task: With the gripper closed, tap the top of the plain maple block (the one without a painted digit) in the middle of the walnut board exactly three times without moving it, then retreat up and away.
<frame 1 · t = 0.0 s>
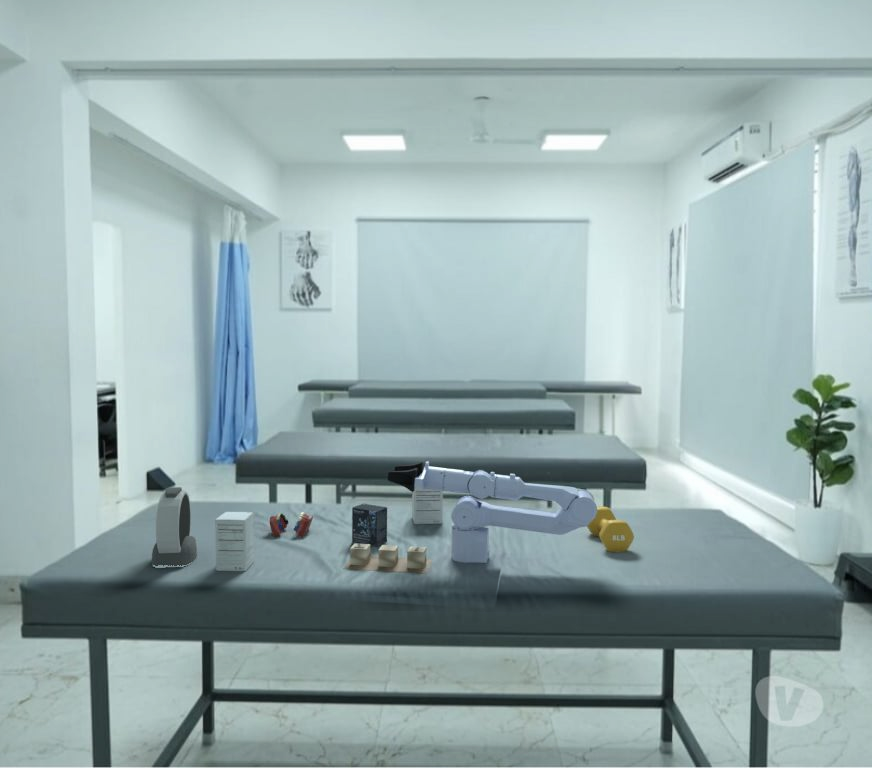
hand: (391, 473, 171), 22 cm above the table, tool horizontal, fingers open, 7 cm apart
walnut board: (388, 568, 164), on the table
teeth model: (291, 534, 194), on the table
dumbbell: (608, 543, 186), on the table
supplement box 2: (426, 521, 208), on the table
supplement box: (235, 567, 165), on the table
alarm clock: (174, 560, 169), on the table
plain block: (388, 563, 164), point 1 cm above the table, touching walnut board
block seven: (360, 562, 165), point 1 cm above the table, touching walnut board
block one: (416, 565, 163), point 1 cm above the table, touching walnut board
box: (369, 546, 182), on the table
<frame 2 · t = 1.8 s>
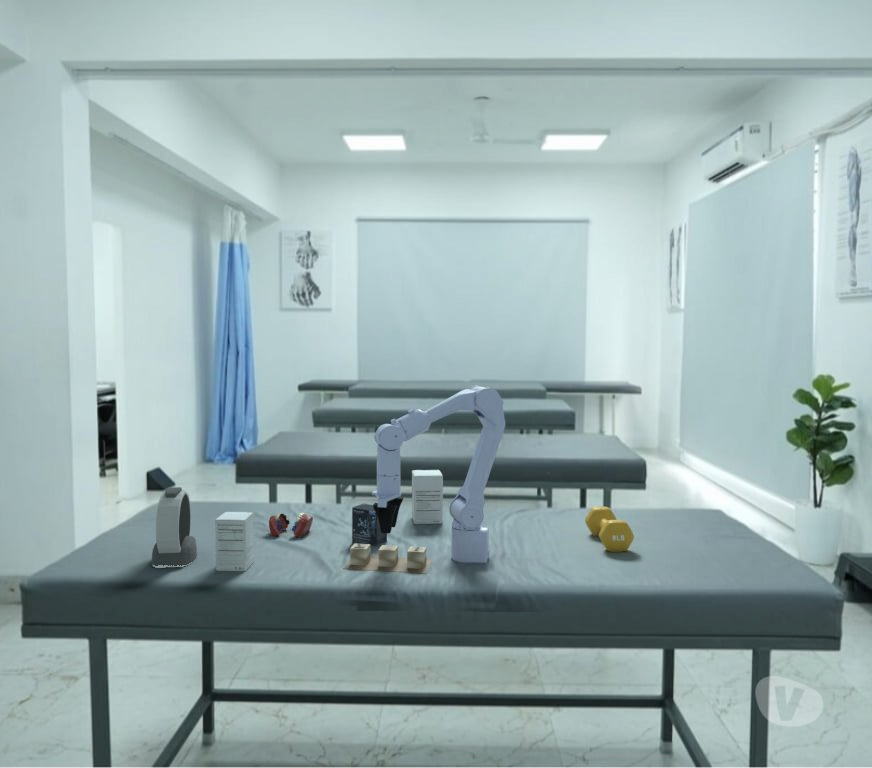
hand: (388, 529, 163), 9 cm above the table, tool pointing down, fingers open, 5 cm apart
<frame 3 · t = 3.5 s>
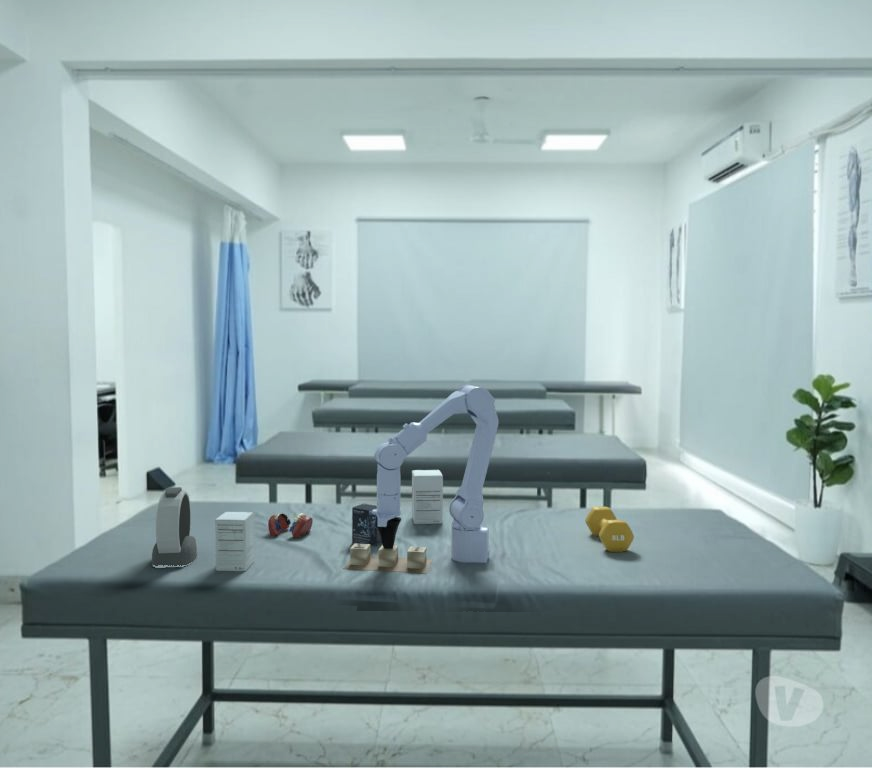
hand: (388, 548, 164), 5 cm above the table, tool pointing down, fingers closed, pressing on plain block
plain block: (388, 563, 164), point 1 cm above the table, touching gripper, walnut board
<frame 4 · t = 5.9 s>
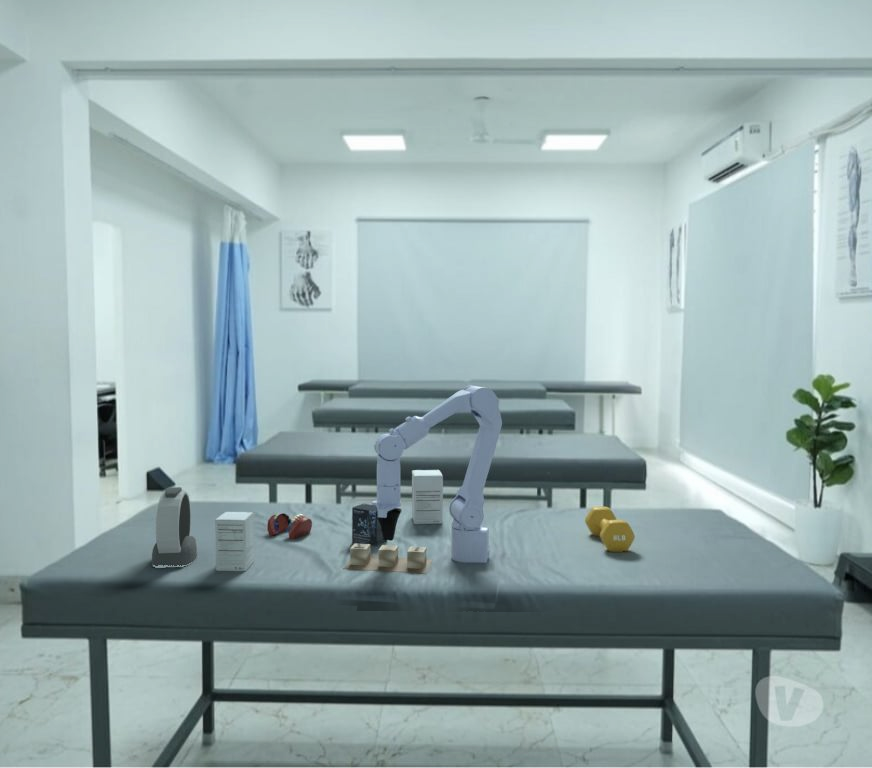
hand: (388, 539, 164), 7 cm above the table, tool pointing down, fingers closed
plain block: (388, 563, 164), point 1 cm above the table, touching walnut board
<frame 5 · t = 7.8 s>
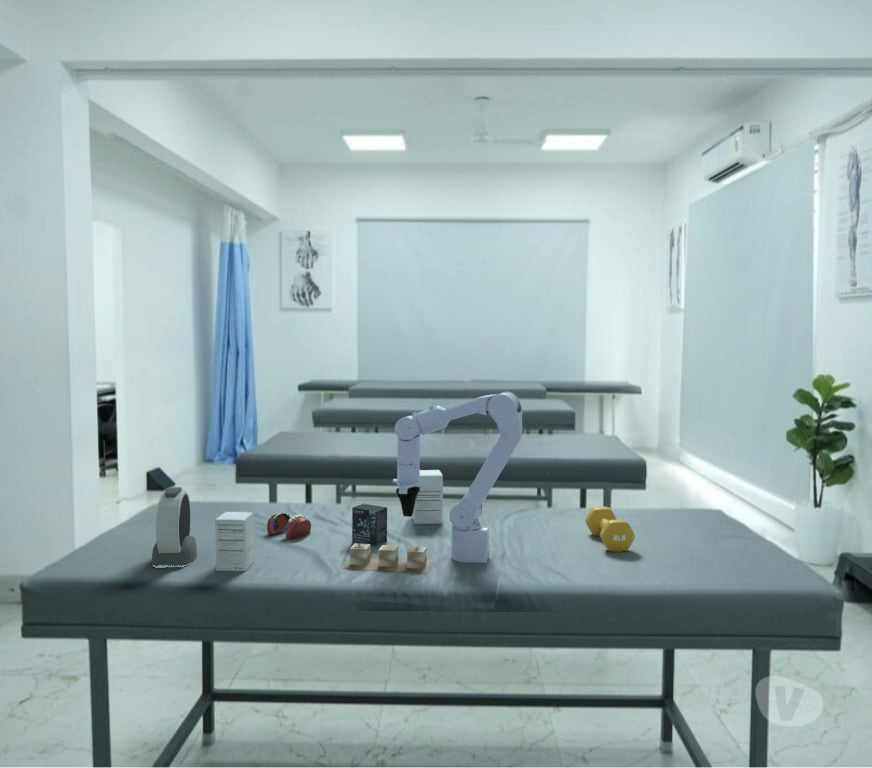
hand: (407, 515, 173), 10 cm above the table, tool pointing down, fingers closed
at the end: plain block moved 0.0 cm from its start; plain block tilted 0°; block seven moved 0.0 cm from its start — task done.
